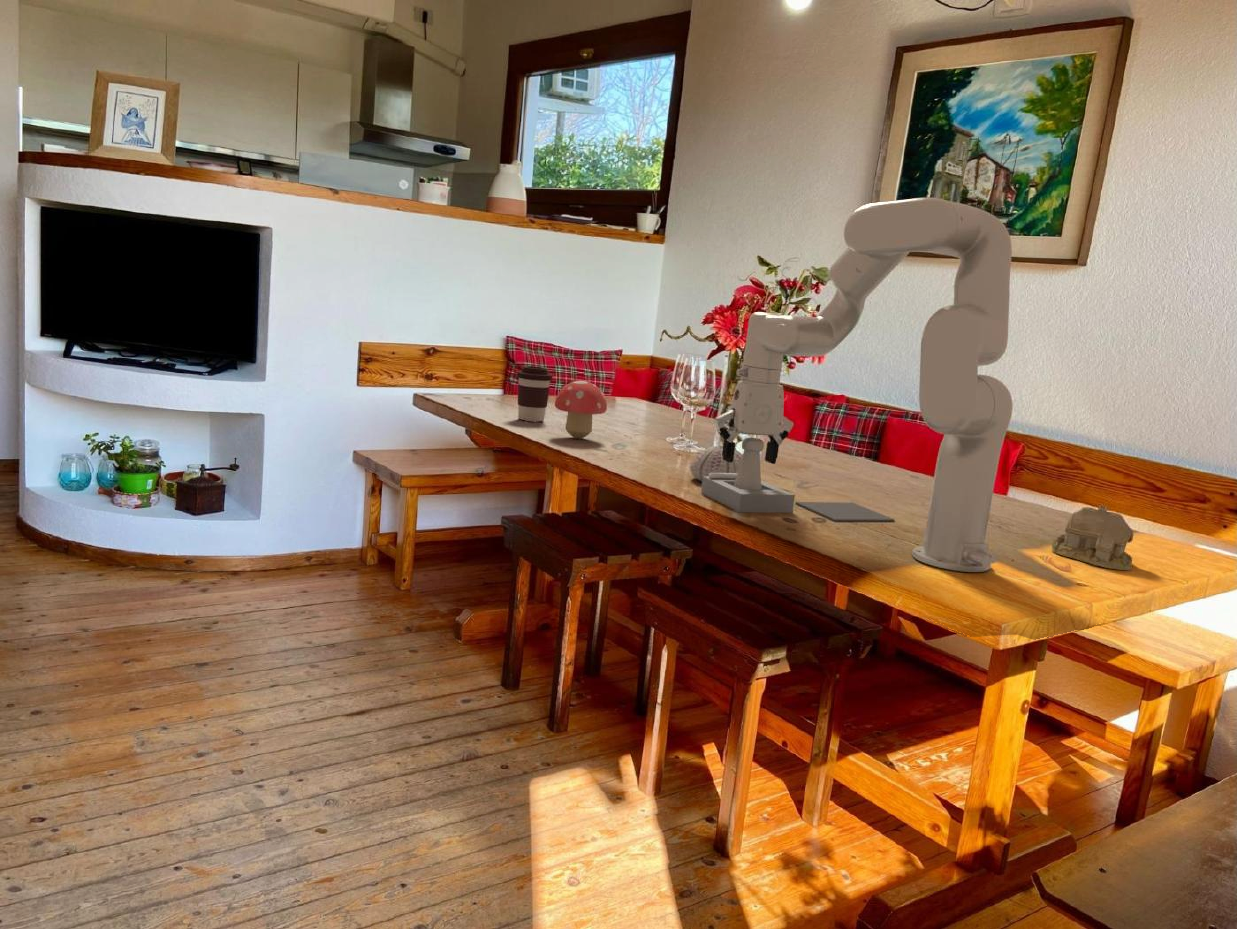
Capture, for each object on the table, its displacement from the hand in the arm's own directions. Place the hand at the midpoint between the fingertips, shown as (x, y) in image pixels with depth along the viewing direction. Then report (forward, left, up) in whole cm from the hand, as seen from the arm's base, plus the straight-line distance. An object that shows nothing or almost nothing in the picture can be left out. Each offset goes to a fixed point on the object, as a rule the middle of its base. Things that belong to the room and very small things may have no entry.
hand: (749, 461), depth 200 cm
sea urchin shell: (+19, -4, -9) cm, 21 cm away
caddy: (0, 0, -8) cm, 8 cm away
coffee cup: (+97, +15, -8) cm, 98 cm away
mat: (-8, -18, -8) cm, 22 cm away
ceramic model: (-42, -49, -9) cm, 65 cm away
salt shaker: (0, 0, -8) cm, 8 cm away
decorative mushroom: (+69, +11, -8) cm, 70 cm away
